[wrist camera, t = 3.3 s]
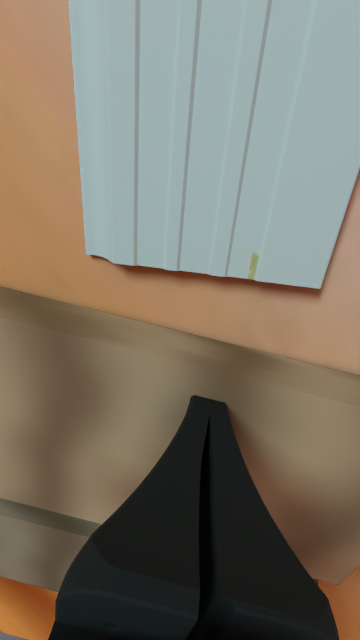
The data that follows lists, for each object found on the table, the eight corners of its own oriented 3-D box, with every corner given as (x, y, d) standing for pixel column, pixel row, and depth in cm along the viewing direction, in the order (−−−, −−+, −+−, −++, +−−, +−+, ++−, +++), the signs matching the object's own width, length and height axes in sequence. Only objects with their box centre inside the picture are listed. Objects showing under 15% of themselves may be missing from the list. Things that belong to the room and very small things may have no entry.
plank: (3, 461, 20) (-19, 493, 18) (-18, 282, 13) (-54, 303, 12) (328, 544, 19) (338, 585, 18) (456, 399, 13) (490, 439, 11)
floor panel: (15, 546, 25) (0, 576, 24) (6, 464, 20) (-15, 496, 18) (266, 611, 25) (269, 646, 23) (323, 545, 20) (332, 585, 18)
